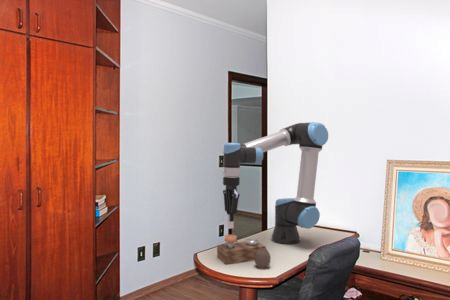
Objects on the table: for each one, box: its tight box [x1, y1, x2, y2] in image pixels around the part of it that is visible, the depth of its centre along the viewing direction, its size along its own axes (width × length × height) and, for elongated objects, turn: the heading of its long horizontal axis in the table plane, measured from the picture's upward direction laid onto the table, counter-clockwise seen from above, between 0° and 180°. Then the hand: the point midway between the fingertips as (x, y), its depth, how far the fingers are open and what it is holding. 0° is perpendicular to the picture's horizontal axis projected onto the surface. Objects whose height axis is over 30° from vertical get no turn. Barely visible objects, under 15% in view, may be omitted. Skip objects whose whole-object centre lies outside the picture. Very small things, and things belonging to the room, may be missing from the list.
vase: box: [254, 245, 271, 269], centre depth 159 cm, size 7×7×9 cm
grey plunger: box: [245, 238, 259, 246], centre depth 172 cm, size 6×6×6 cm
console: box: [216, 241, 266, 266], centre depth 169 cm, size 20×10×6 cm, turn 114°
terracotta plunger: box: [224, 234, 238, 248], centre depth 167 cm, size 6×6×6 cm
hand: (230, 227), depth 166 cm, fingers closed
